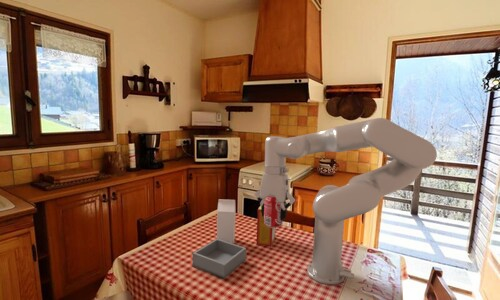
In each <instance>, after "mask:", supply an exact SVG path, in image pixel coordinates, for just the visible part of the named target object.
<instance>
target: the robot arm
mask: <svg viewBox="0 0 500 300" xmlns="http://www.w3.org/2000/svg"><path fill="white" fill-rule="evenodd" d="M264 141H265V145H264V172H263V173H262V177H261V182H260V189H259V190H257V191H255V193H254V196H255V198H256V200H257V201H258V202H259V205H260V206H261V213H262V216H264V201H265V198H266V197H267V195H270V196H276V199H277V200H278V201H279V202H280V205H281V207H282V210H281V218H280V220H282V221H283V222H284V220H285V219H287V214H288V213H287V211H288V208H289V207H291V206H292V205H293V204H294V202H296V199H295V198H294V196H293V195H291V193H290V184H289V183H290V182H289V176H288V174H287V173H289V171H290V169H289V168H288V167H287V166H286V160H287V159H286V158H288V159H292V160H293V159H294V160H297V159H301V158H302V157H304V156H308V155H313V154H319V153H326V152H328V153H329V152H330V153H331V152H332V153H344V152H348V151H349V152H350V151H353V150H354V151H355V150H361V149H364V148H365V149H366V148H375V149H376V150H378V151H379V152H380V153H383V154H385V155H386V156H388V157H389V158H392V160H391V161H390V162H388V163H387V164H385V165H383V166H379V167H378V168H375V169H372V170H369V171H367V172H365V173H361V174H358V175H354V176H353V177H351V178H350V180H349V181H348V182H347V184H345V185H342V186H340V187H339V186H337V185H334V184H328V185H325V186H322V187H321V188H320V189H319V190H318V192H317V193H316V195H315V198H314V200H313V202H312V203H313V204H312V210H313V211H312V212H313V213H314V216H315V217H314V229H313V230H314V231H313V243H312V244H313V246H312V258H311V260H312V262H311V263H309V264H308V265H307V268H306V269H307V272H306V273H307V274H308V277H310V278H311V279H313V280H314V281H316V282H318V283H321V284H324V285H339V284H341V283H343V281H344V280H345V278H346V279H350V280H354V277H355V273H353V272H352V269H350V268H345V267H344V264H343V263H344V262H343V261H342V252H343V238H344V229H345V228H344V226H345V220H349V219H352V218H354V217H358V216H362V215H364V214H366V213H369V212H371V211H372V210H375V209H376V207H378V206H379V203H380V202H381V199H382V198H383V197H384V196H389V194H390V195H391V194H392V193H396V192H398V191H400V190H402V189H404V188H406V187H408V186H410V185H411V184H412V183H414V182H415V181H416V180H417V178H418V177H419V176H420V174H421V172H422V170H425V169H427V168H429V167H431V166H432V165H433V164H434V163H435V162H436V159H437V155H438V153H437V149H436V146H434V144H433V143H431V141H429V140H427V139H425V138H424V137H421V136H420V135H417V134H416V133H414V132H412V131H410V130H407V129H406V128H404V127H402V126H400V125H398V124H397V123H395V122H393V121H391V120H390V119H387V118H383V117H376V118H372V119H371V118H370V119H366V120H362V121H357V122H353V123H348V124H343V125H337V126H334V127H330V128H328V129H326V130H322V131H317V132H313V133H307V134H303V135H298V136H292V137H284V136H277V135H276V136H274V135H272V136H271V135H270V136H267V137H266V138H265V140H264ZM287 200H289V201H288V202H287Z"/></svg>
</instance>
